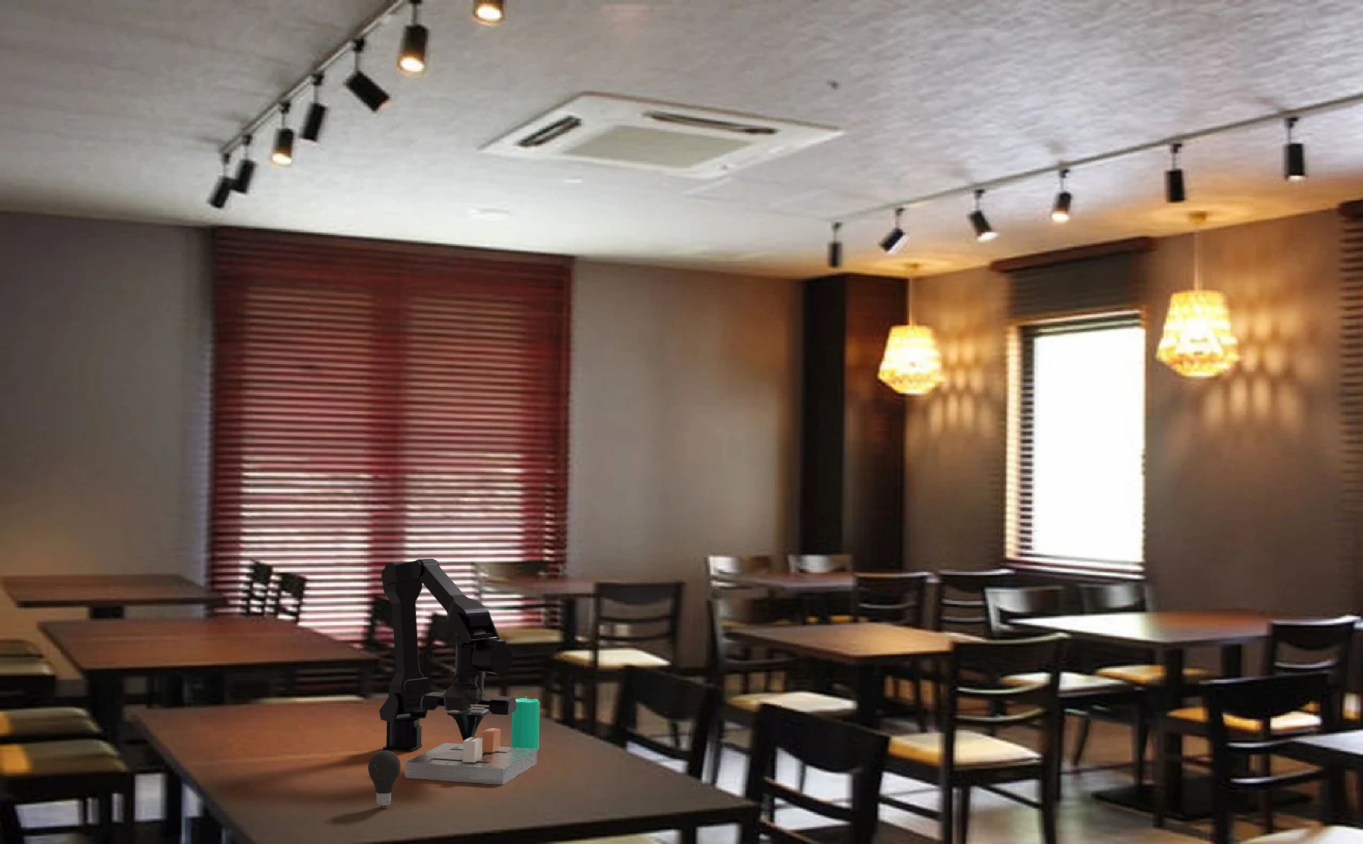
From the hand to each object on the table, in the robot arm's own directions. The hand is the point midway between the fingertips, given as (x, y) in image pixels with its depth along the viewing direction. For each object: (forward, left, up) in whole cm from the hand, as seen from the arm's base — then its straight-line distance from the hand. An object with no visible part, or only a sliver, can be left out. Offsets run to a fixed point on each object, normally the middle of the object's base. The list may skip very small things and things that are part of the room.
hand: (467, 746), depth 286 cm
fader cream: (+5, -10, -4) cm, 12 cm away
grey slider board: (+3, -5, -4) cm, 7 cm away
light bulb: (-1, -38, -4) cm, 38 cm away
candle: (+6, +18, -4) cm, 20 cm away
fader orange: (+5, 0, -4) cm, 6 cm away
